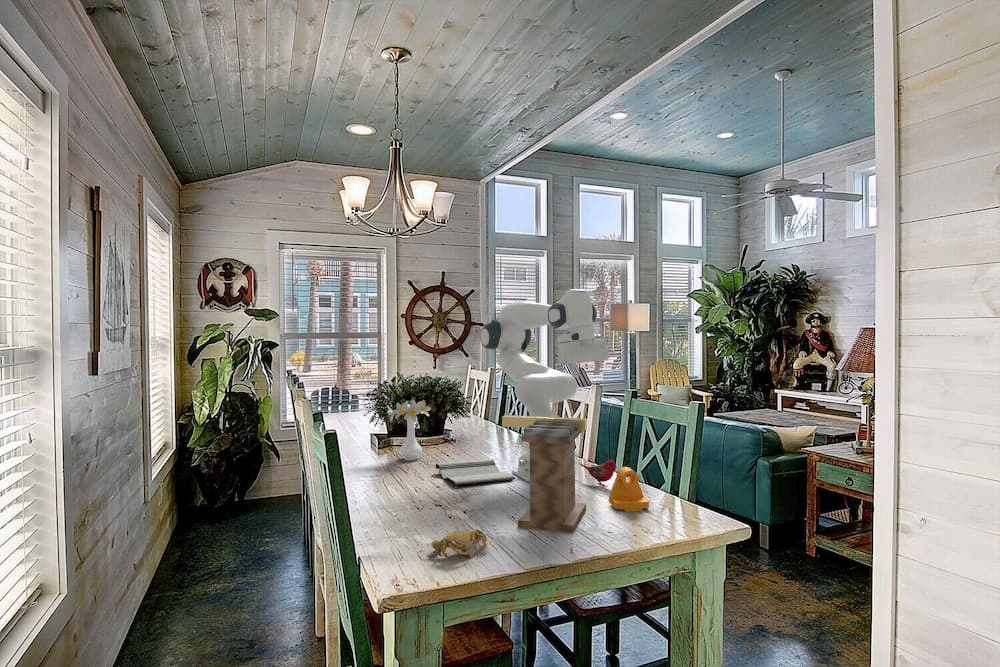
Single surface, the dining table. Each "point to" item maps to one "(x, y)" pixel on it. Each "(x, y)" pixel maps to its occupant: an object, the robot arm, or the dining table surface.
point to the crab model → (460, 542)
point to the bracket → (627, 492)
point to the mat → (472, 472)
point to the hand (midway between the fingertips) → (586, 376)
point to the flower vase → (410, 426)
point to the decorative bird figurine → (601, 471)
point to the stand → (552, 478)
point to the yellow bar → (529, 420)
